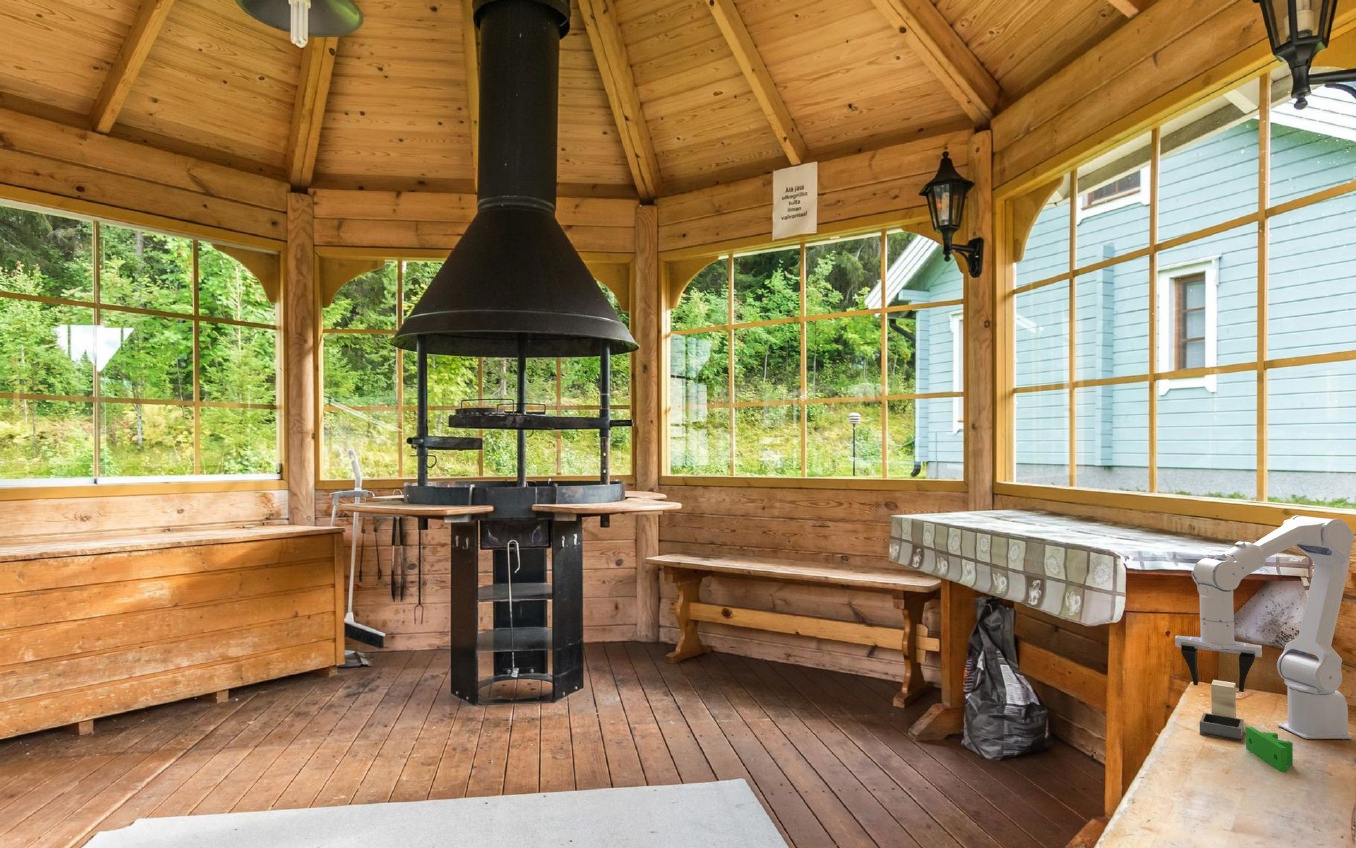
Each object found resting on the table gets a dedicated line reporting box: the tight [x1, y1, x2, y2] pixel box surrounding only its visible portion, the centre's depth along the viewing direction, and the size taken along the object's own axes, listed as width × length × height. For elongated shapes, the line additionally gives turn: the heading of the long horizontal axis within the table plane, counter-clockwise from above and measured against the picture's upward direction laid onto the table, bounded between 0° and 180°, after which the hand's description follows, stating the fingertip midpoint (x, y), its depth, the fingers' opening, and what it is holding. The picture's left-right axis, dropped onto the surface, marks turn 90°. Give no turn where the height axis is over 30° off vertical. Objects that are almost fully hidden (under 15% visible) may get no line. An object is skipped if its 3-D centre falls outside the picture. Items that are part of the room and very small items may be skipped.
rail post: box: [1210, 679, 1237, 718], centre depth 176 cm, size 4×4×8 cm
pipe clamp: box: [1245, 726, 1294, 773], centre depth 155 cm, size 11×4×5 cm, turn 173°
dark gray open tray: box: [1199, 712, 1245, 742], centre depth 169 cm, size 7×7×2 cm
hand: (1218, 687), depth 166 cm, fingers open, 7 cm apart
